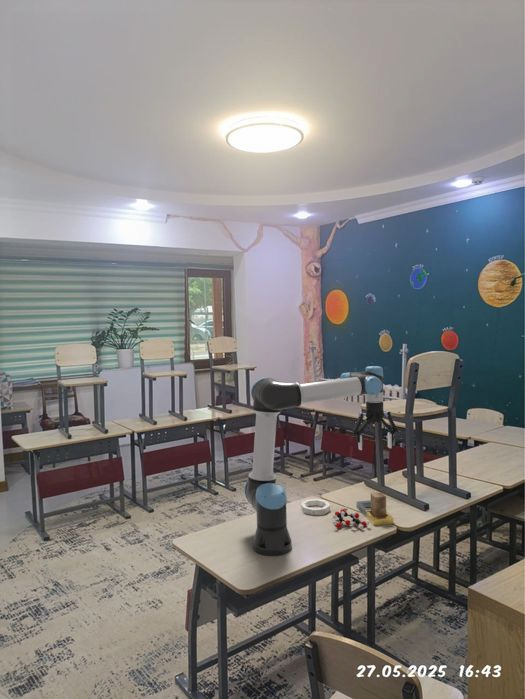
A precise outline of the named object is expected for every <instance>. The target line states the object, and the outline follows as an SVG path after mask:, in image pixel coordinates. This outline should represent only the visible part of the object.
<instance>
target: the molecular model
mask: <svg viewBox="0 0 525 699" xmlns="http://www.w3.org/2000/svg"><path fill="white" fill-rule="evenodd" d="M348 509H349V508H348V507H347V506H345V507H344V508H342V509H340V511H339V510H338V511H335V512H334V514H333V515H332V518H333V519H338V522H337V520H333V521H332V524H333V525H335V528H336V529H339V530H340V529H341V528H342V524H343V523H344V522H345V526H347V527H348V526H354V525H355V524H357V525H359V528H360V529H364V527H365V528H366V527H367V525H368V526H369V525H370V523H371V522H370V521H369V520H366V521H365V520H363V521H361V520H360V519H359V518H360V513H358V512H357V511H354V512H351V513H350V514H348V512H347V511H348ZM344 517H345V518H347V517H350V518H351V520H349V519H346V520H345V519H344Z"/></svg>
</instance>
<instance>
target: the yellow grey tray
mask: <svg viewBox="0 0 525 699" xmlns="http://www.w3.org/2000/svg"><path fill="white" fill-rule="evenodd" d="M356 508H357V509H358V510H359V511H360V513H361V514H362V515H363V516H364V517H365V518H366V519H367V521H369V522H370V523H371V525H373V526H381V525H393V524H394V523H395V522H394V521H395V520H394V517H393V516H392V515H391V513H389V512H388V511H387V510H386V516H384V517H374V516H373V515H372V514H371V499H369V500H361V501H356Z"/></svg>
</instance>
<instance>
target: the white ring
mask: <svg viewBox="0 0 525 699" xmlns="http://www.w3.org/2000/svg"><path fill="white" fill-rule="evenodd" d="M315 506H318V508H316V507H315ZM313 507H315V508H313ZM300 510H301V511H302V513H303V514H306V515H311V516H321V515H326V514H327V513H329V512H330V511H331V504H330V503H329V502H328V501H327V500H323V499H320V498H313V499H306V500H304V501H302V502H301V503H300Z"/></svg>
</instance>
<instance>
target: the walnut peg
mask: <svg viewBox="0 0 525 699" xmlns="http://www.w3.org/2000/svg"><path fill="white" fill-rule="evenodd" d="M370 500H371V514H372V515H373V516H374V517H384V516H386V511H387V496H386V495H385V494H384V493H383V492H373V493H370Z"/></svg>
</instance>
